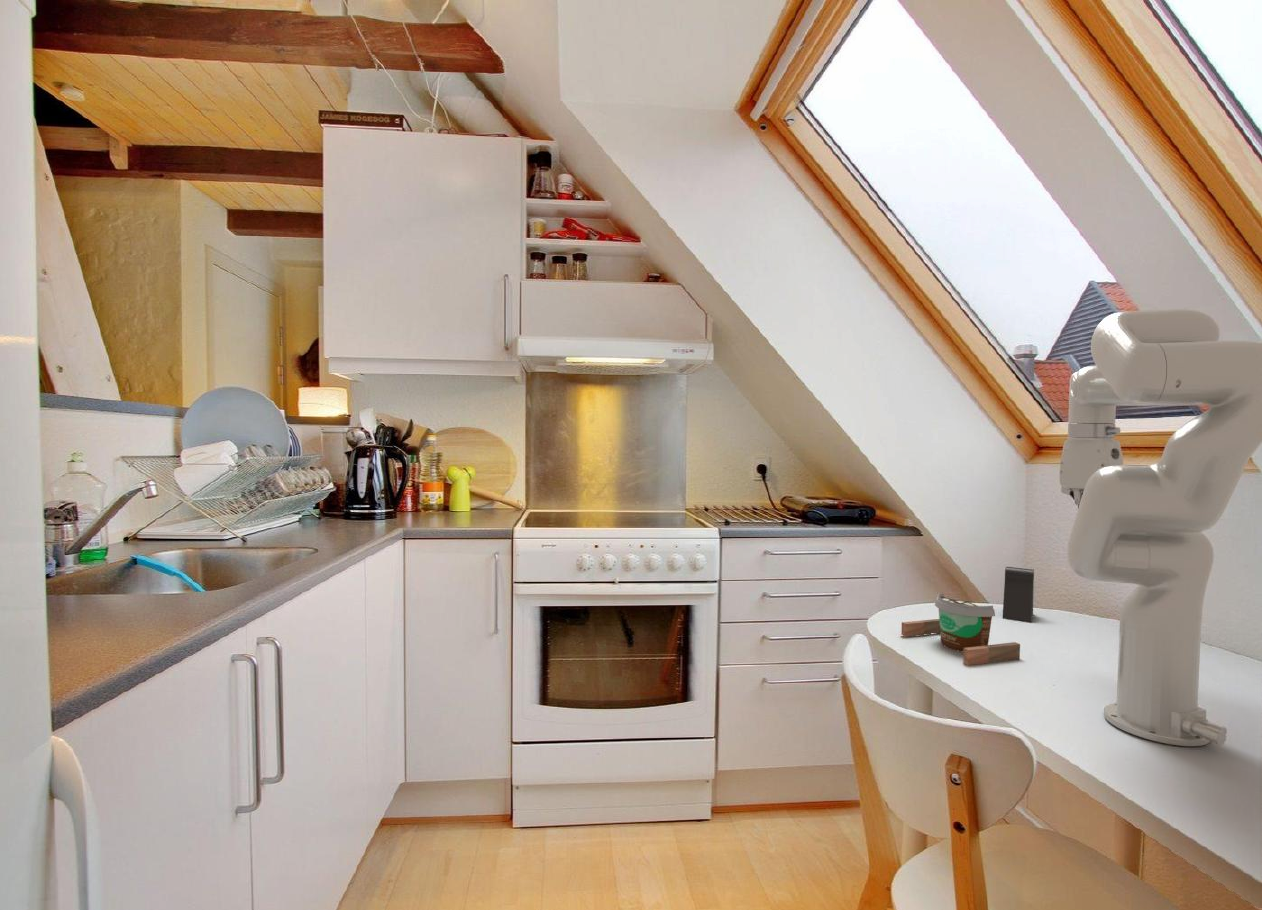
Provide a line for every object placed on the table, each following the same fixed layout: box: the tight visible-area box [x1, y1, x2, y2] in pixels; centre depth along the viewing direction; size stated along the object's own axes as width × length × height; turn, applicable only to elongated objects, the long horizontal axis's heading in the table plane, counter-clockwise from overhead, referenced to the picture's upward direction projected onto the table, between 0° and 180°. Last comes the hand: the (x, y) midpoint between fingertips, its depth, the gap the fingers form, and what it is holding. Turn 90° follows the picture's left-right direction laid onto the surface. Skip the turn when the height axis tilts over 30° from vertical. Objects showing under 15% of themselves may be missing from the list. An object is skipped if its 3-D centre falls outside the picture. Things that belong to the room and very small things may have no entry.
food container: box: [934, 592, 996, 652], centre depth 132 cm, size 12×6×10 cm, turn 27°
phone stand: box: [1002, 566, 1035, 623], centre depth 156 cm, size 9×6×12 cm, turn 145°
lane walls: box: [900, 618, 1021, 666], centre depth 133 cm, size 18×13×3 cm
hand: (1087, 525), depth 125 cm, fingers closed
